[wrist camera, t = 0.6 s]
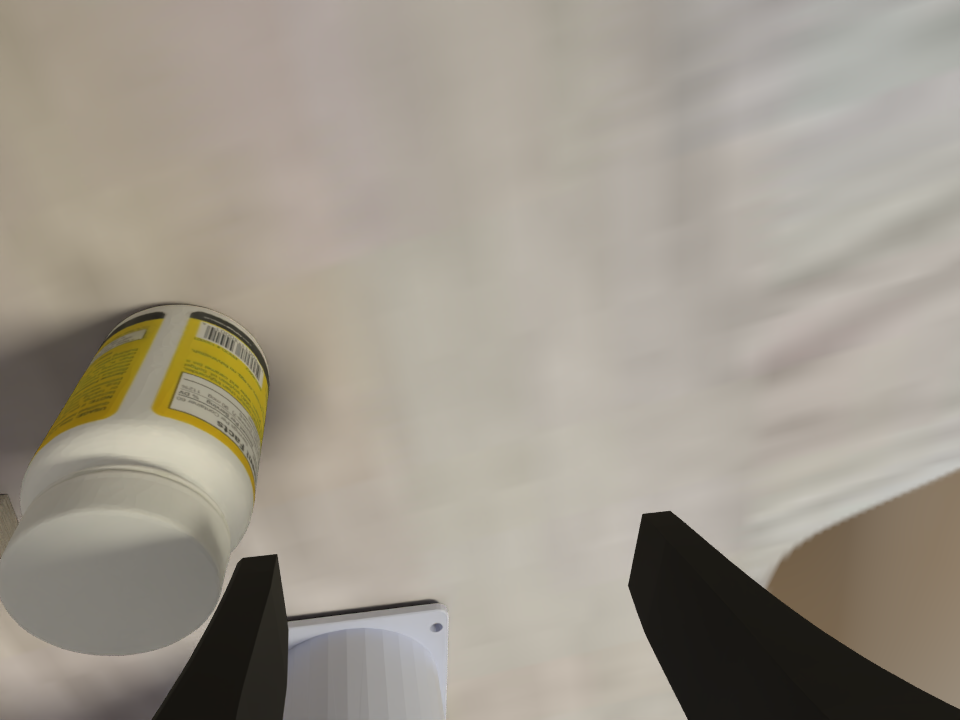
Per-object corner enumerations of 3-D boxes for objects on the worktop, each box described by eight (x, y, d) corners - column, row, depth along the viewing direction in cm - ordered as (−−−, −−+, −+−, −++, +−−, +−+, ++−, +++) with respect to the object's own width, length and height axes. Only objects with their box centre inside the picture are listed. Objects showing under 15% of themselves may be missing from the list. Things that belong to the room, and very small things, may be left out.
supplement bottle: (107, 433, 21) (-13, 676, 13) (93, 292, 18) (-59, 491, 11) (269, 438, 22) (239, 664, 15) (275, 307, 20) (241, 495, 12)
